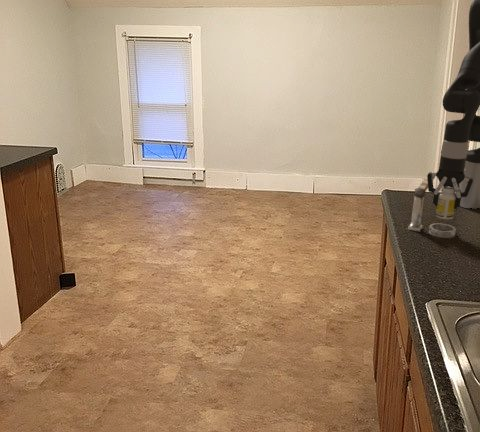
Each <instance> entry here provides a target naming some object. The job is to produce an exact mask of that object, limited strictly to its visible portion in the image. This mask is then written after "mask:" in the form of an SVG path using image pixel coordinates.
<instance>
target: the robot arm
mask: <svg viewBox="0 0 480 432" xmlns="http://www.w3.org/2000/svg"><path fill="white" fill-rule="evenodd" d="M468 12H469V13H468V43H469V45H468V46H469V48H468V52H467V53H466V55H465V56H464V57H463V59H462V61H461V64H460V67H459V71H458V73H457V75H456V76H455V78H454V80H453V82H452V83H451V85H450V86H449V88H447V90H446V92H445V93H444V95H443V98H442V107H443V109H444V110H445V112H448V113H454V114H455V113H456V114H464V116H463V117H462V118H461V119H453V120H448V121H447V122H446V124H445V128H444V129H445V130H444V136H443V142H442V145H441V150H440V158H439V164H438V170H437V171H436V172H430V171H429V172H428V173H427V175H426V177H427V180H428V189H427V190H428V192H429V193H432V194H433V199H432V204H434V207H437V203H438V196H439V194H440V192H441V190H442V187H443V186H444V187H448V186H449V187H451V188H454V189H455V196H456V201H455V207H454V209H455V210H457V209H458V208H459V207H461V208H464V209H470V208H472V209H471V210H478V209H477V208H479V209H480V147H478V148H475V149H469V148H468V147H469V145H468V144H469V143H468V142H475V143H480V115H477V112H478V110H479V108H480V0H473V1H472V2H471V4H470V6H469V11H468ZM468 149H469V150H468ZM436 178H437V180H438V181H439V183H438V185H437V187H436V188H435V187H434V180H435V179H436Z"/></svg>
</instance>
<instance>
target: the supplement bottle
mask: <svg viewBox="0 0 480 432" xmlns="http://www.w3.org/2000/svg"><path fill="white" fill-rule="evenodd" d="M456 197H457V195H456V192H455V189H454V188H451V187H449V186H448V187H444V186H442V188H441V193H440V192H439V196H438V203H437V206H436V211H435V217H437V218H438V219H441V220H452V219H453V218H454V216H455V215H454V214H455V210H456V209H454V207H455V201H456Z"/></svg>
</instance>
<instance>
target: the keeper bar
mask: <svg viewBox="0 0 480 432" xmlns="http://www.w3.org/2000/svg"><path fill="white" fill-rule="evenodd" d="M427 190H428V179H425V178H424V179H423V180H422V182H421V183H420V185H419V186H418V187H417V188H416V187H415V189H414V196H417V197H424V198H425V194H426V192H427ZM414 196H413V197H414Z"/></svg>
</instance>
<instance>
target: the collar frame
mask: <svg viewBox="0 0 480 432" xmlns="http://www.w3.org/2000/svg"><path fill="white" fill-rule="evenodd" d="M424 199H425V196H424V197H417V196H413V204H412V211H411V219H410V220H411V221H410V223H409V225H408V226H407V230H408V231H413V232H414V231H415V232H419V233H420V232H421V231H422V229H423V224H422V216H423V209H424V201H425V200H424ZM456 231H457V228H456V227H454V226H452V225H451V224H447V223H442V222H440V223H436V222H435V223H431V224H430V225H429V227H428V233H429V234H430V235H431V236H434V237H436V238H441V239H451V238H454V237H455V236H456Z"/></svg>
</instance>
